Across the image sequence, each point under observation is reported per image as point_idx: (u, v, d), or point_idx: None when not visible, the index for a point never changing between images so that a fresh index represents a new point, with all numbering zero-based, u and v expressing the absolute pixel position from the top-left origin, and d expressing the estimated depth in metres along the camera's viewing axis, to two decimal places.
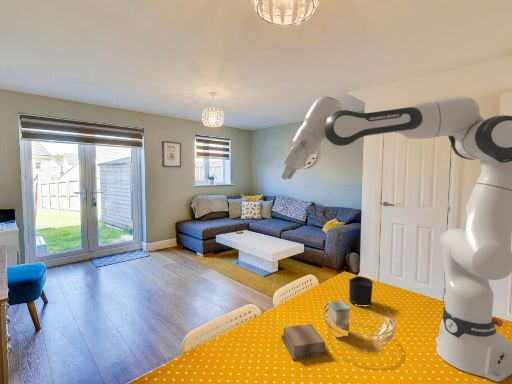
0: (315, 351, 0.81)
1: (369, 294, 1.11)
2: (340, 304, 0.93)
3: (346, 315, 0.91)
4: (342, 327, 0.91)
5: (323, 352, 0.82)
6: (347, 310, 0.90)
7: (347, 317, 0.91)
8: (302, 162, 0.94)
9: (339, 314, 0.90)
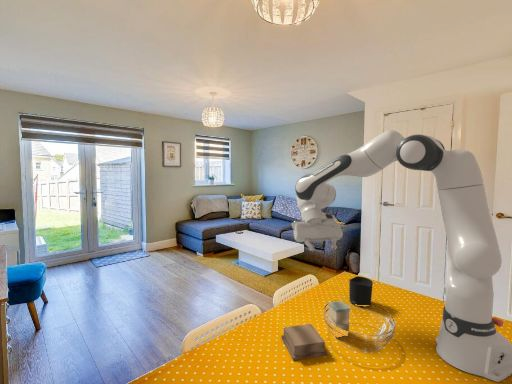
0: (315, 351, 0.81)
1: (369, 294, 1.11)
2: (340, 304, 0.93)
3: (346, 315, 0.91)
4: (342, 327, 0.91)
5: (323, 352, 0.82)
6: (347, 310, 0.90)
7: (347, 317, 0.91)
8: (329, 230, 1.08)
9: (339, 314, 0.90)
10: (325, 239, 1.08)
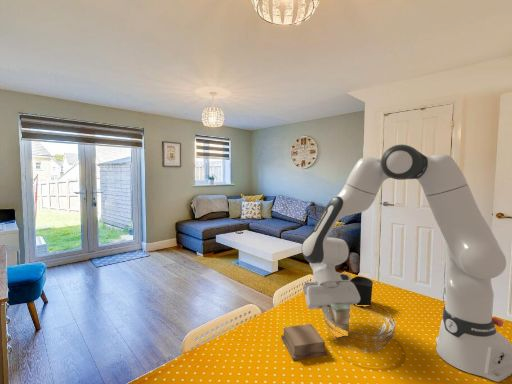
0: (315, 351, 0.81)
1: (369, 294, 1.11)
2: (340, 304, 0.93)
3: (346, 315, 0.91)
4: (342, 327, 0.91)
5: (323, 352, 0.82)
6: (347, 310, 0.90)
7: (347, 317, 0.91)
8: (344, 294, 0.97)
9: (339, 314, 0.90)
10: None
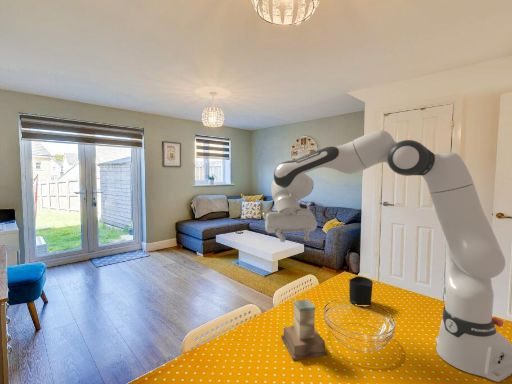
0: (315, 351, 0.81)
1: (369, 294, 1.11)
2: (306, 303, 0.86)
3: (311, 315, 0.83)
4: (307, 328, 0.83)
5: (323, 352, 0.82)
6: (312, 309, 0.83)
7: (312, 317, 0.83)
8: (302, 220, 1.02)
9: (303, 313, 0.82)
10: (298, 230, 1.02)
